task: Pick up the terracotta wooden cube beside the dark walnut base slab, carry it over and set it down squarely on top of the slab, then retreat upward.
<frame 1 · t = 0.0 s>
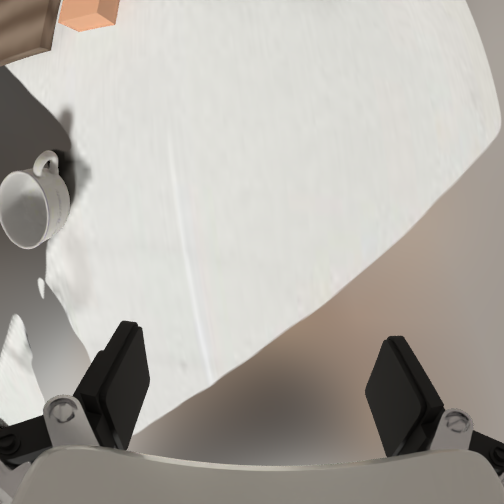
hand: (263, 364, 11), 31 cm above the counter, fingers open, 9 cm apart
teacup: (56, 189, 40), on the counter
terracotta cube: (100, 10, 30), on the counter
walnut base: (25, 22, 29), on the counter
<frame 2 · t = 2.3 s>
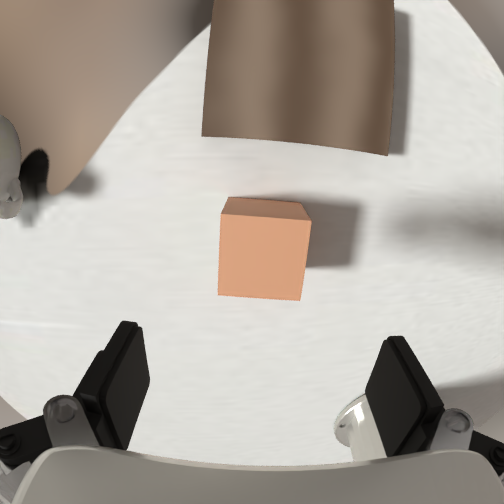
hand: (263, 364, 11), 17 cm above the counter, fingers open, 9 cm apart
teacup: (10, 165, 25), on the counter
terracotta cube: (261, 233, 27), on the counter
walnut base: (300, 61, 22), on the counter
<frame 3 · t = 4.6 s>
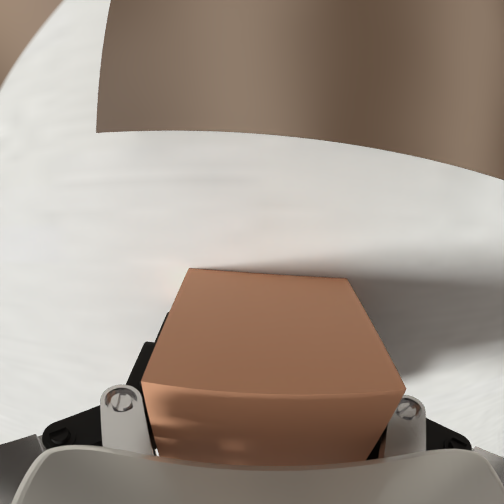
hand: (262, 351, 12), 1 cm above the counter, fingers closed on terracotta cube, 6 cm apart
terracotta cube: (262, 338, 13), on the counter, touching gripper
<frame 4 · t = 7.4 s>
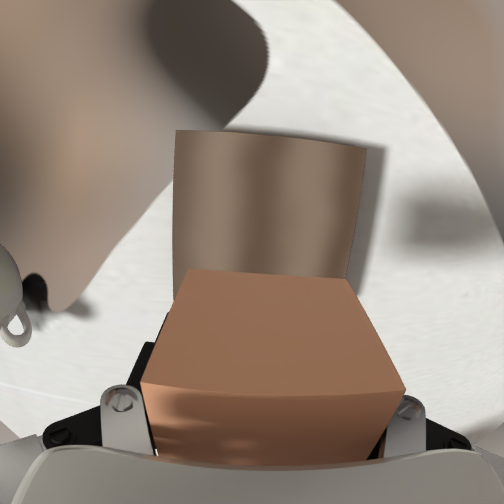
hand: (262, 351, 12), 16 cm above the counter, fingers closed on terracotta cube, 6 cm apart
teacup: (11, 279, 29), on the counter
terracotta cube: (262, 339, 13), point 15 cm above the counter, touching gripper
walnut base: (263, 219, 27), on the counter
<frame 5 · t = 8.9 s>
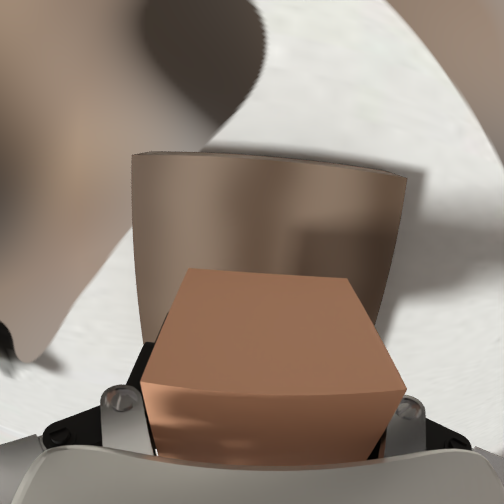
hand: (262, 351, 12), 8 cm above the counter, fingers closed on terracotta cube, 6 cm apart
terracotta cube: (262, 338, 13), point 7 cm above the counter, touching gripper
walnut base: (260, 270, 20), on the counter
when the fingers open (5 cm above the counter, at t = 10.3 s): terracotta cube drops 1 cm, resting on walnut base.
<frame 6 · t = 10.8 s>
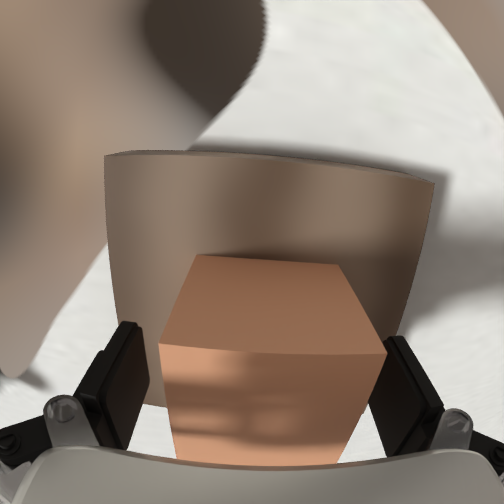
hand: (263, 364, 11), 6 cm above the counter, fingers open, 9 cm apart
terracotta cube: (262, 320, 14), point 3 cm above the counter, touching walnut base
walnut base: (260, 288, 17), on the counter
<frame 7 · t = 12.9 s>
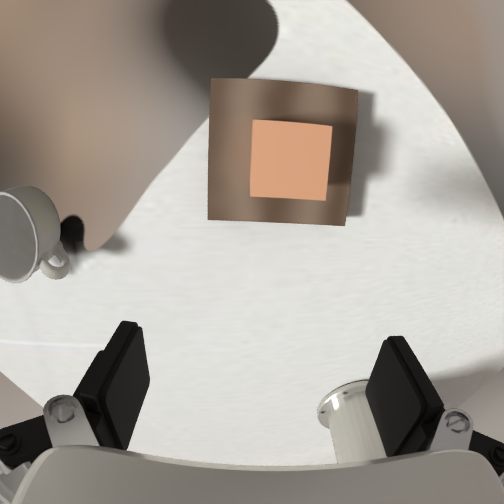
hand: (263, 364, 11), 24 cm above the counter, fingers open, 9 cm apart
teacup: (47, 225, 35), on the counter
terracotta cube: (283, 153, 29), point 3 cm above the counter, touching walnut base
walnut base: (279, 150, 32), on the counter
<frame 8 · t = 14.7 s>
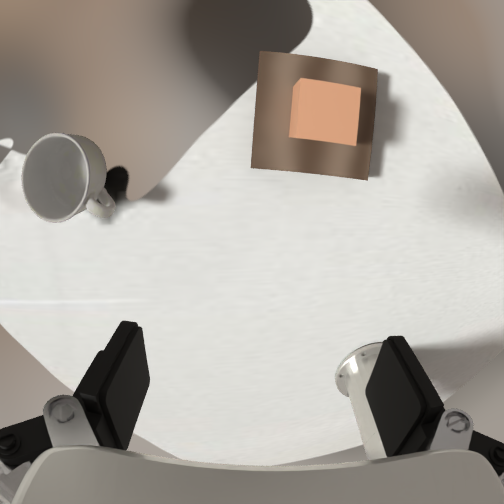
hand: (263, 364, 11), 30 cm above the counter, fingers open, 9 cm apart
teacup: (90, 176, 39), on the counter
terracotta cube: (317, 114, 33), point 3 cm above the counter, touching walnut base
walnut base: (312, 115, 36), on the counter
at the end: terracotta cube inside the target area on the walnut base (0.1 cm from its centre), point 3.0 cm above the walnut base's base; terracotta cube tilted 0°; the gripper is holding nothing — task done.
